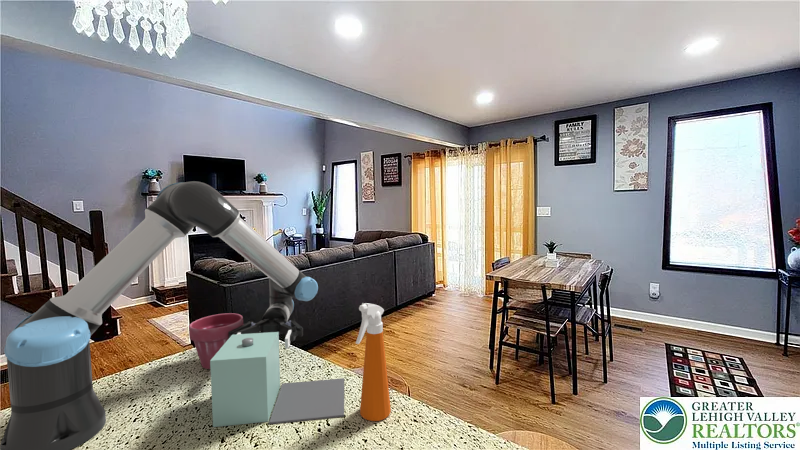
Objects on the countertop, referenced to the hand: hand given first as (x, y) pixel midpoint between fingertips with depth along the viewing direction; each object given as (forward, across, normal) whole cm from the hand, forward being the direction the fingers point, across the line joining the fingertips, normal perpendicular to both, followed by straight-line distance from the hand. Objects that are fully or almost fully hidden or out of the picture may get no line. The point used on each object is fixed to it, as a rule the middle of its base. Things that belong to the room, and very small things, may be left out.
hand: (259, 345), depth 90 cm
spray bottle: (+19, -28, -10) cm, 35 cm away
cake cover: (+10, 0, -10) cm, 14 cm away
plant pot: (-14, +15, -10) cm, 23 cm away
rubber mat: (+10, -14, -10) cm, 20 cm away
